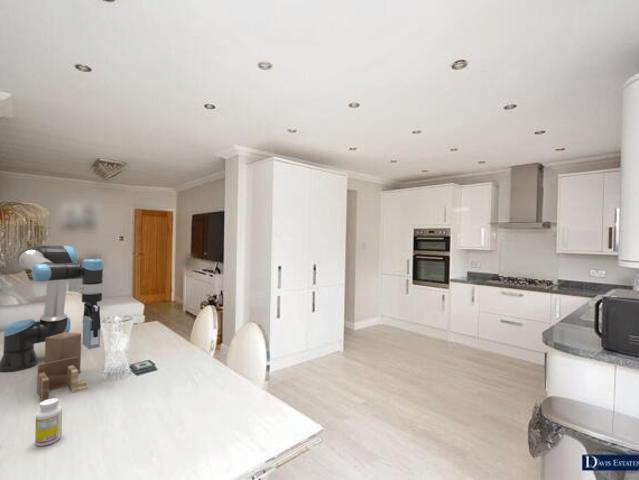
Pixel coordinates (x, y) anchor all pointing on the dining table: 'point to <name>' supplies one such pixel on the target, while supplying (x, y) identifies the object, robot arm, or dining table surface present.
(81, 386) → the bookend
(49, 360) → the wooden block
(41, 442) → the supplement bottle
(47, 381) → the shelf corner
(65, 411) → the dining table surface
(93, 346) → the book box
